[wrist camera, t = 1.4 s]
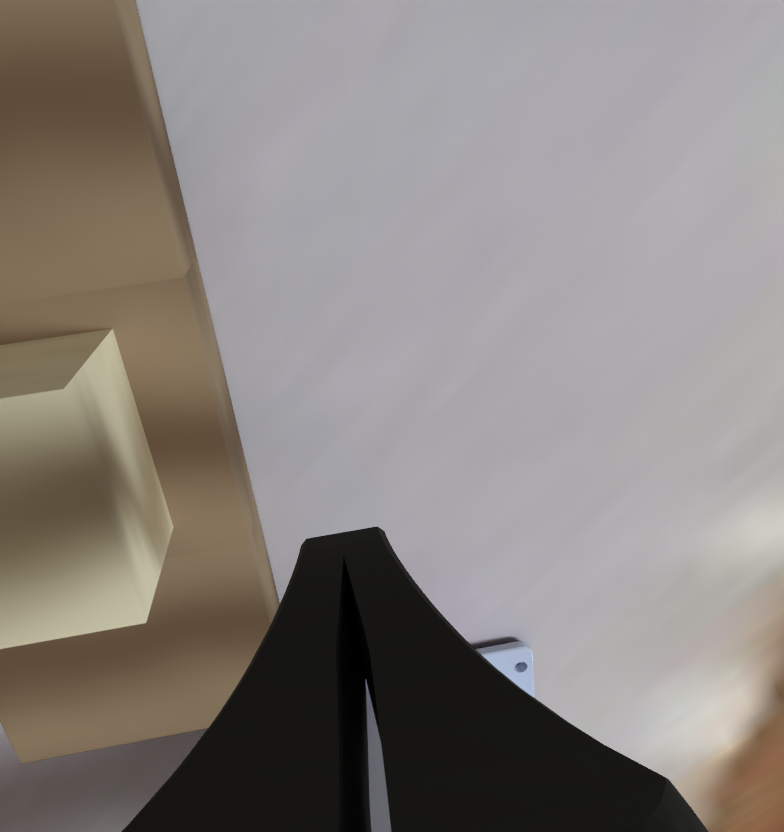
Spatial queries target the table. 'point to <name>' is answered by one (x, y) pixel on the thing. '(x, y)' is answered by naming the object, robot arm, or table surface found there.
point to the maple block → (74, 492)
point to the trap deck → (146, 370)
